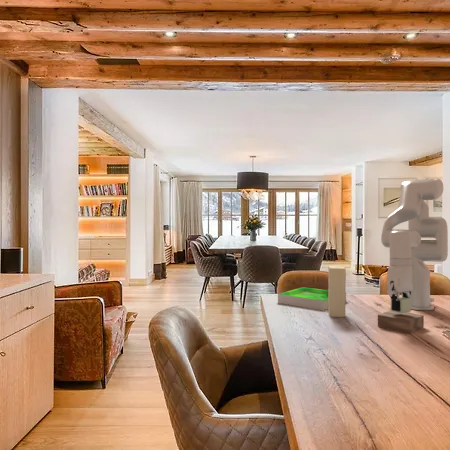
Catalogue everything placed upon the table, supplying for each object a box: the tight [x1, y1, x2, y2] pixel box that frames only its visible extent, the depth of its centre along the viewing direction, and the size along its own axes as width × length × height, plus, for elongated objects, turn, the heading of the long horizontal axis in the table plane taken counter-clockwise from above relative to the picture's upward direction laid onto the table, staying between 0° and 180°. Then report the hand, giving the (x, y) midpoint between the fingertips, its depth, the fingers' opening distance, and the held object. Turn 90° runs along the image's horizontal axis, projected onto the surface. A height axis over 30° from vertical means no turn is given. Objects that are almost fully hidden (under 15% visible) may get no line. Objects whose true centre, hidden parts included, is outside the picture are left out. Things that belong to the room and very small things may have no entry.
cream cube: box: [390, 296, 412, 313], centre depth 142 cm, size 5×5×5 cm
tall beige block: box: [327, 265, 347, 318], centre depth 161 cm, size 8×7×21 cm
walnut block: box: [377, 310, 425, 334], centre depth 142 cm, size 12×12×5 cm
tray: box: [277, 286, 347, 311], centre depth 188 cm, size 25×25×5 cm
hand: (400, 309), depth 142 cm, fingers closed on cream cube, 4 cm apart
